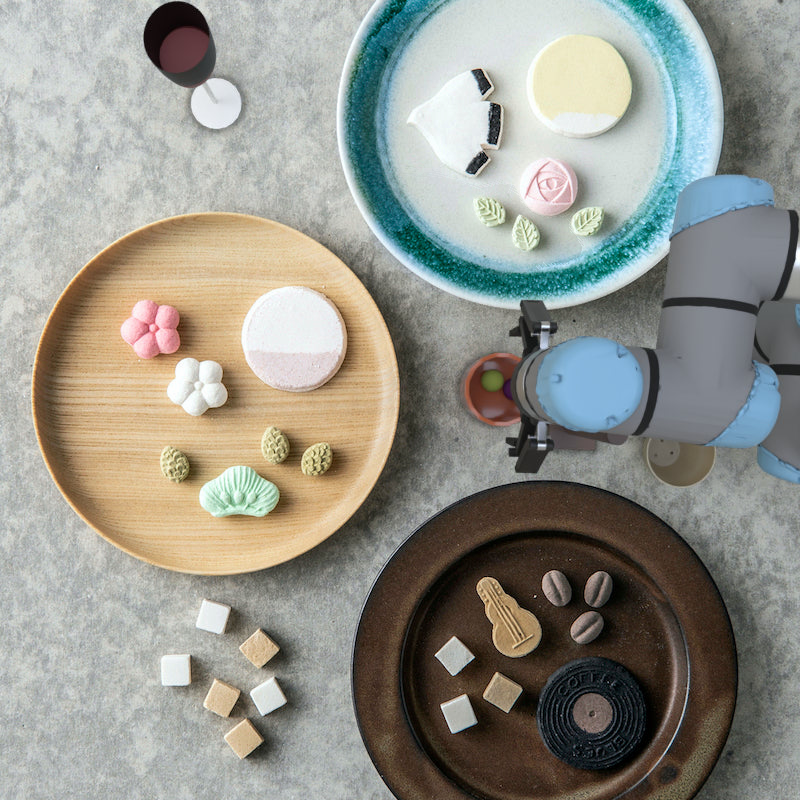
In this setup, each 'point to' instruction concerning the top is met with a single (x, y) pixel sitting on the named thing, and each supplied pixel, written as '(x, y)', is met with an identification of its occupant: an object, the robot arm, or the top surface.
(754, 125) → the top surface
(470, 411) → the pink bowl
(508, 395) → the purple grape
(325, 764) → the top surface
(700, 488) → the top surface
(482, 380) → the green grape
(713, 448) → the flower pot
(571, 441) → the stand
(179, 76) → the wineglass
